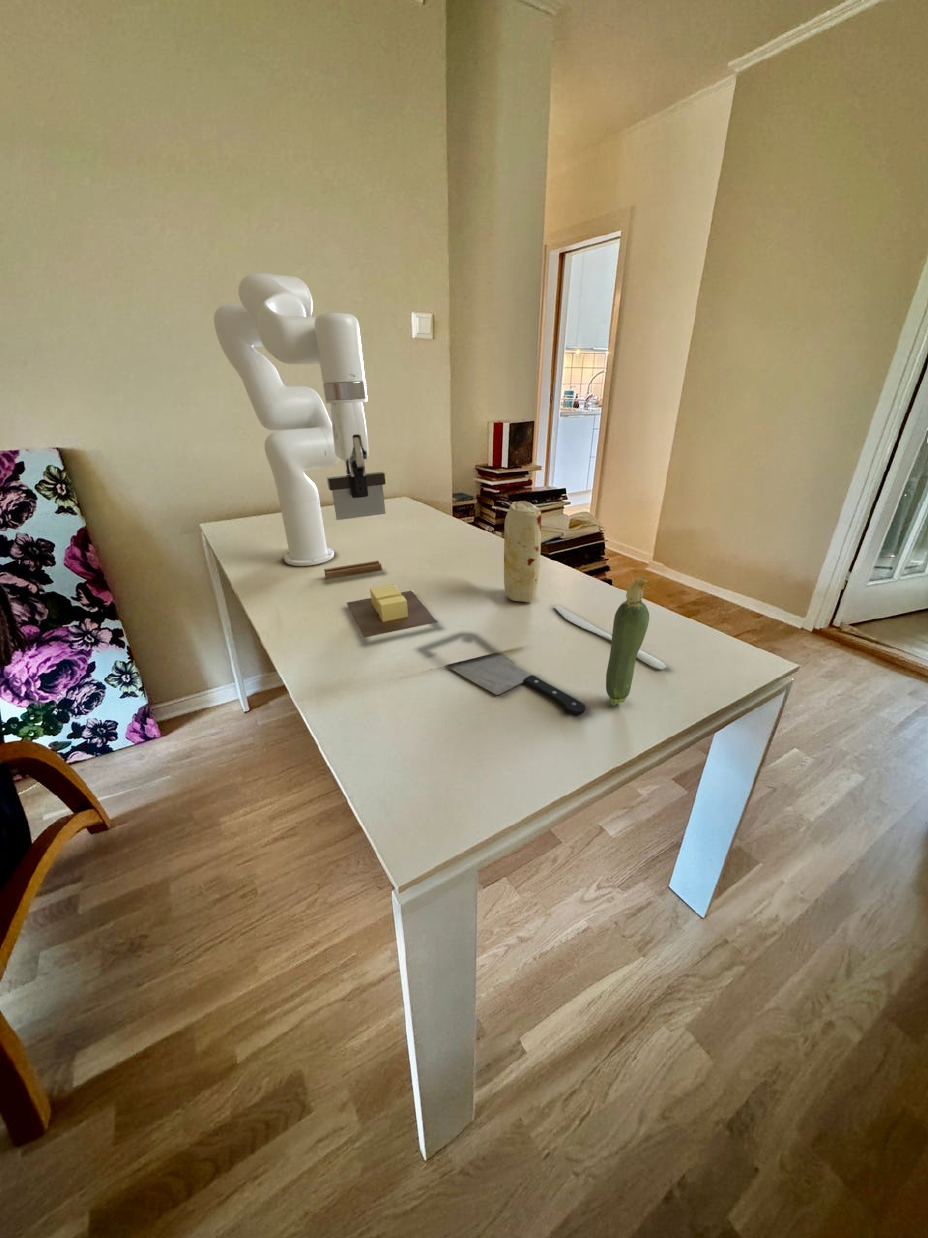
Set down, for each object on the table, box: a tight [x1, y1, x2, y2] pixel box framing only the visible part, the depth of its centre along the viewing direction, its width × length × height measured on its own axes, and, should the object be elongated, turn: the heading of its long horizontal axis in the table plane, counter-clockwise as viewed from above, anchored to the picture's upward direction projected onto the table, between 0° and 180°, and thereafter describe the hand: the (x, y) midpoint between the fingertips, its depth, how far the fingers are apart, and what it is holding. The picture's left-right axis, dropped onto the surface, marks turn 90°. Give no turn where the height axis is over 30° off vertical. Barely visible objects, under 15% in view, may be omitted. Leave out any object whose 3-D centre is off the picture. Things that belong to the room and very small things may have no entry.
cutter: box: [326, 471, 387, 521], centre depth 95 cm, size 2×11×8 cm, turn 114°
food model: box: [503, 500, 542, 603], centre depth 98 cm, size 10×7×20 cm
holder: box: [323, 560, 383, 580], centre depth 114 cm, size 3×13×2 cm, turn 114°
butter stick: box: [369, 583, 401, 614], centre depth 95 cm, size 5×5×4 cm
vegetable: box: [605, 576, 650, 706], centre depth 65 cm, size 4×4×20 cm
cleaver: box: [445, 652, 586, 715], centre depth 76 cm, size 29×1×10 cm
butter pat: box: [378, 596, 408, 622], centre depth 91 cm, size 2×5×4 cm, turn 114°
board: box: [346, 590, 438, 638], centre depth 94 cm, size 16×14×2 cm
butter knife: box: [554, 605, 667, 670], centre depth 87 cm, size 1×27×3 cm
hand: (358, 495), depth 95 cm, fingers closed on cutter, 1 cm apart
